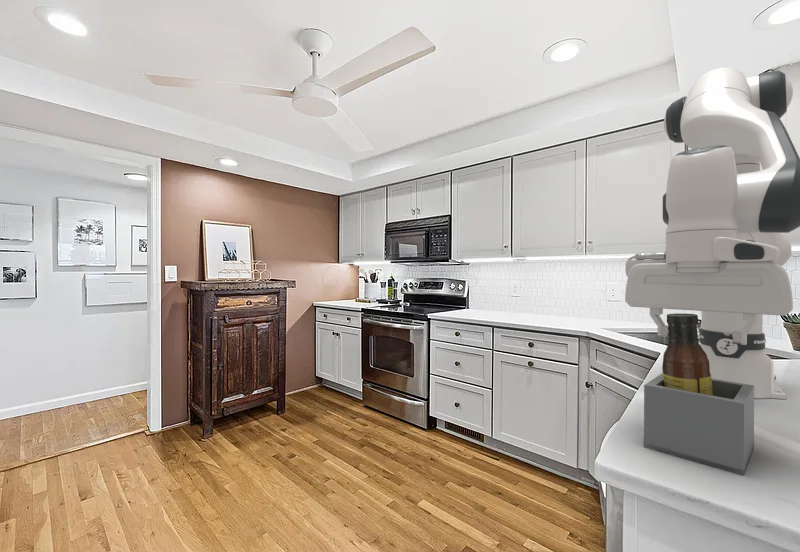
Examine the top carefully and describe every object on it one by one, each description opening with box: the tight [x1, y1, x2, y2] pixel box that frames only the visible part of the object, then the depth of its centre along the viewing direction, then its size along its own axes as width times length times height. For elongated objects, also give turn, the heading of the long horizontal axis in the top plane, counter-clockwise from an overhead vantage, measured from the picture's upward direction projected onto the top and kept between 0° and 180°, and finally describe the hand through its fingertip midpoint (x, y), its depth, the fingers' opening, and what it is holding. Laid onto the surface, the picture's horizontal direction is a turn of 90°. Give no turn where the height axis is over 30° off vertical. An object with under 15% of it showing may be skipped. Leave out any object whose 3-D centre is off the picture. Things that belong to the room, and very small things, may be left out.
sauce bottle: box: [661, 312, 713, 396], centre depth 60 cm, size 7×6×20 cm
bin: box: [643, 372, 755, 477], centre depth 59 cm, size 12×12×10 cm
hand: (699, 339), depth 59 cm, fingers open, 8 cm apart
